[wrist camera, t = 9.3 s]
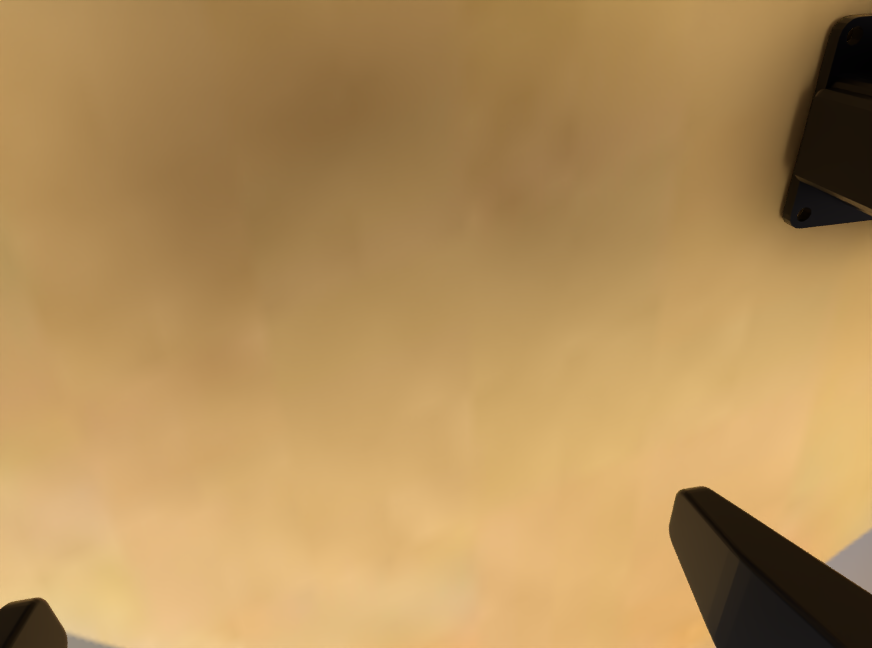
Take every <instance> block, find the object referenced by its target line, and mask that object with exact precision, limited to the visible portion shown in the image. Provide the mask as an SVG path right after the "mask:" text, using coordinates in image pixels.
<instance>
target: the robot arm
mask: <svg viewBox="0 0 872 648" xmlns="http://www.w3.org/2000/svg"><path fill="white" fill-rule="evenodd" d="M852 28H853V35H852V37H851V39H850V40H849V41H848V42H847V35H848V33H849V31H850V30H851V29H852ZM801 209H803V211H802V213H801V214H800V215H799V216H797V215H798V213H799V211H800V210H801ZM783 220H784V221H785V222H786V223H787V224H789V225H791V226H793V227H795V228H808V227H816V226H825V225H833V224H842V223H850V222H858V221H867V220H872V14H866V15H853V16H847V17H844V18H843V19H841V20H840V21H838V22H837V24H836V25H835V26H834V27H833V29H832V31H831V33H830V36H829V40H828V43H827V47H826V51H825V55H824V59H823V62H822V66H821V70H820V74H819V77H818V81H817V85H816V89H815V93H814V96H813V100H812V104H811V108H810V111H809V115H808V119H807V123H806V127H805V130H804V134H803V138H802V142H801V145H800V149H799V153H798V157H797V161H796V164H795V168H794V172H793V176H792V180H791V183H790V187H789V191H788V195H787V198H786V202H785V206H784V210H783ZM669 534H670V538H671V542H672V544H673V547H674V549H675V552H676V554H677V556H678V559H679V561H680V564H681V566H682V568H683V571H684V573H685V576H686V578H687V581H688V583H689V585H690V588H691V590H692V593H693V595H694V597H695V600H696V602H697V605H698V607H699V609H700V612H701V614H702V617H703V619H704V621H705V624H706V626H707V628H708V631H709V633H710V635H711V637H712V640H713V642H714V644H715V646H716V648H872V594H870V593H869V592H867V591H866V590H864V589H863V588H861V587H860V586H858V585H857V584H855V583H854V582H852V581H850V580H849V579H847V578H846V577H844V576H843V575H841V574H840V573H838V572H837V571H835V570H834V569H832V568H831V567H829V566H828V565H826V564H825V563H823V562H821V561H820V560H818V559H817V558H815V557H814V556H812V555H811V554H809V553H808V552H806V551H805V550H803V549H802V548H800V547H799V546H797V545H795V544H794V543H792V542H791V541H789V540H788V539H786V538H785V537H783V536H782V535H780V534H779V533H777V532H776V531H774V530H773V529H771V528H769V527H768V526H766V525H765V524H763V523H762V522H760V521H759V520H757V519H756V518H754V517H753V516H751V515H750V514H748V513H747V512H745V511H743V510H742V509H740V508H739V507H737V506H736V505H734V504H733V503H731V502H730V501H728V500H727V499H725V498H724V497H722V496H721V495H719V494H717V493H716V492H714V491H713V490H711V489H709V488H707V487H704V486H699V487H693V488H687V489H682V490H680V491H679V492H678V493H677V494H676V497H675V501H674V506H673V510H672V515H671V519H670V524H669ZM67 643H68V642H67V635H66V632H65V630H64V628H63V626H62V625H61V623H60V622H59V620H58V619H57V617H56V615H55V614H54V612H53V611H52V609H51V608H50V606H49V604H48V603H47V602H46V600H44V599H42V598H31V599H25V600H19V601H14V602H11V603H8V604H6V605H5V606H4V607H2V608H1V609H0V648H67Z"/></svg>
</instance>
